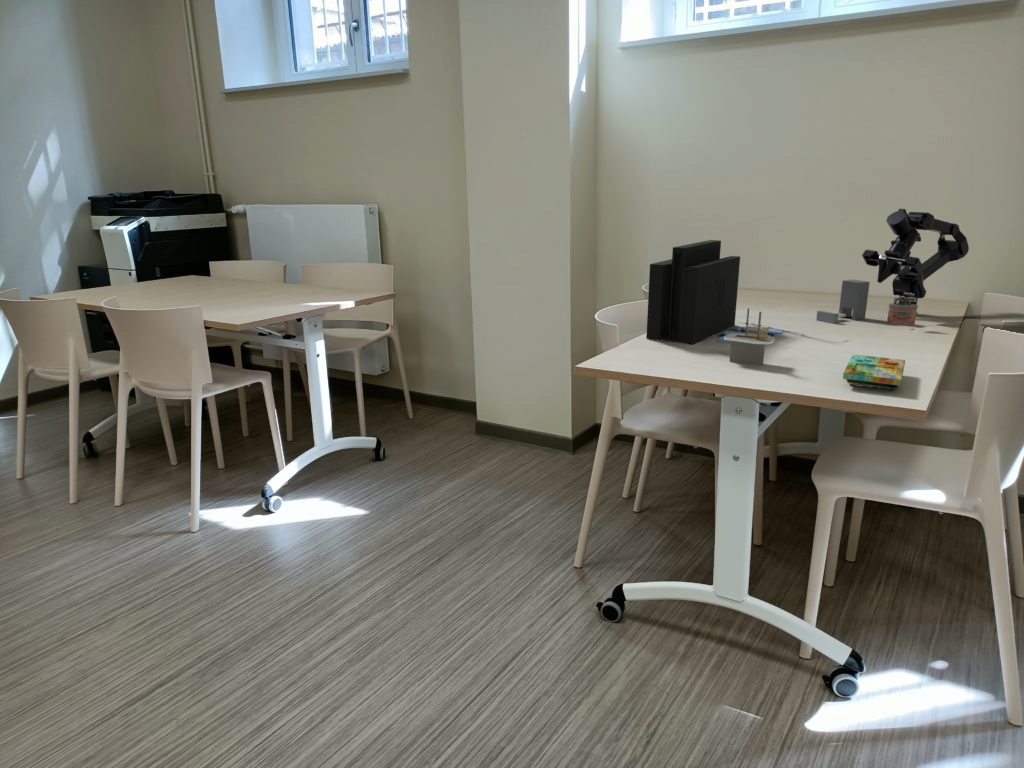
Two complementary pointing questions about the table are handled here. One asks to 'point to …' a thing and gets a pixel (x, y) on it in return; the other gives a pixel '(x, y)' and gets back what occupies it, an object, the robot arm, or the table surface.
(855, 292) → the plug
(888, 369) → the puzzle game
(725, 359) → the table surface
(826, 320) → the header
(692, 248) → the game console
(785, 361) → the table surface
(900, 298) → the lighter
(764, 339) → the architectural model
